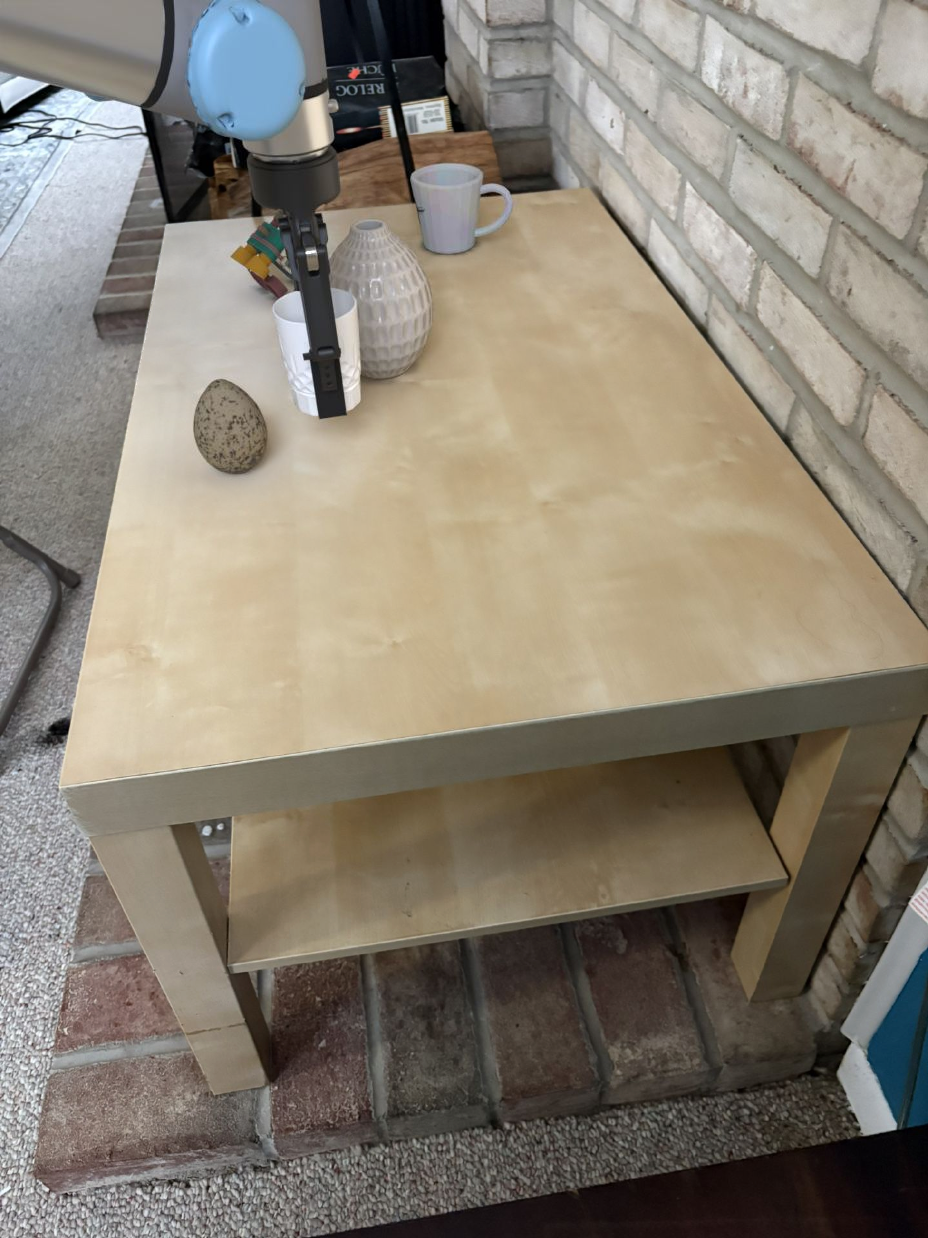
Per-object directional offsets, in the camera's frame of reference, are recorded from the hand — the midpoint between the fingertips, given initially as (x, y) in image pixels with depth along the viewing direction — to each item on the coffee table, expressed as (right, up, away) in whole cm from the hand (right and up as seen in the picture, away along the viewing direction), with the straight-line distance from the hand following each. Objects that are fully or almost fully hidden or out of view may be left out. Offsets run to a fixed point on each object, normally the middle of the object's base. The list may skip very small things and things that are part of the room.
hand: (326, 394), depth 92 cm
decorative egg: (-10, -7, +3) cm, 12 cm away
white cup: (0, -1, +1) cm, 1 cm away
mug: (+14, +33, +46) cm, 58 cm away
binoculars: (-12, +22, +35) cm, 43 cm away
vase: (+4, +8, +18) cm, 20 cm away
